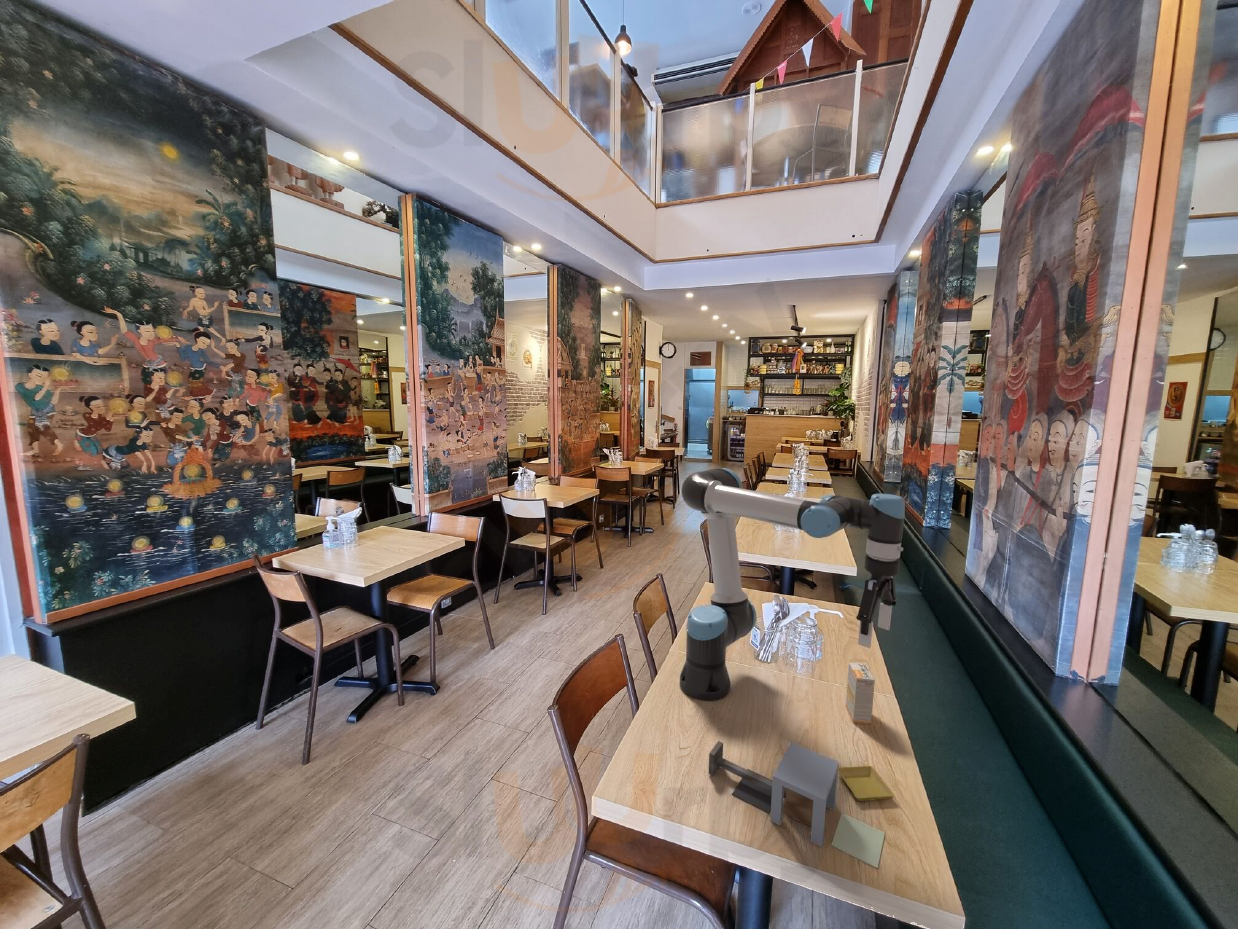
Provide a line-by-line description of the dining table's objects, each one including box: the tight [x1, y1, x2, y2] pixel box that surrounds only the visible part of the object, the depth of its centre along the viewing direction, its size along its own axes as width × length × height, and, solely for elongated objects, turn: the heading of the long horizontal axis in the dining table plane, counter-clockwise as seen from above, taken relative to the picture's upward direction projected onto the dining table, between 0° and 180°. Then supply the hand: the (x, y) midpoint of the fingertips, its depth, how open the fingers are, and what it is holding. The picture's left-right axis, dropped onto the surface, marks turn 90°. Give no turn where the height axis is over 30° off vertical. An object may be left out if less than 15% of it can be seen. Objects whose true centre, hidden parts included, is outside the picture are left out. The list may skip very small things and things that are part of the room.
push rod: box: [708, 740, 813, 828], centre depth 107 cm, size 24×6×6 cm, turn 54°
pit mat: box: [731, 768, 773, 814], centre depth 108 cm, size 8×9×1 cm
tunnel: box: [769, 741, 840, 848], centre depth 101 cm, size 10×12×10 cm
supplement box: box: [845, 662, 876, 726], centre depth 133 cm, size 8×5×13 cm, turn 168°
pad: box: [831, 812, 886, 869], centre depth 96 cm, size 8×9×1 cm
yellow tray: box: [838, 765, 895, 802], centre depth 109 cm, size 9×9×2 cm
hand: (874, 636), depth 124 cm, fingers open, 13 cm apart
